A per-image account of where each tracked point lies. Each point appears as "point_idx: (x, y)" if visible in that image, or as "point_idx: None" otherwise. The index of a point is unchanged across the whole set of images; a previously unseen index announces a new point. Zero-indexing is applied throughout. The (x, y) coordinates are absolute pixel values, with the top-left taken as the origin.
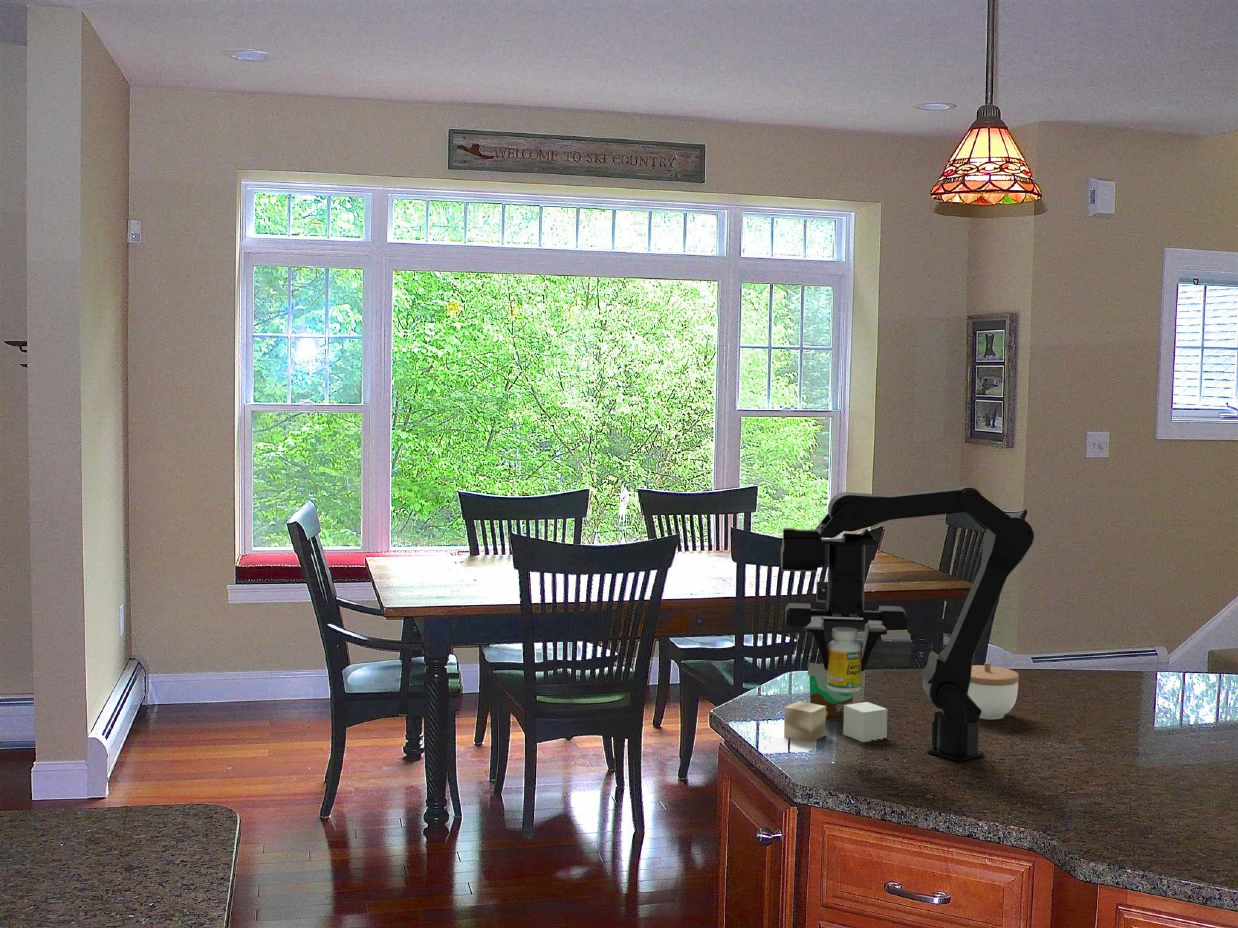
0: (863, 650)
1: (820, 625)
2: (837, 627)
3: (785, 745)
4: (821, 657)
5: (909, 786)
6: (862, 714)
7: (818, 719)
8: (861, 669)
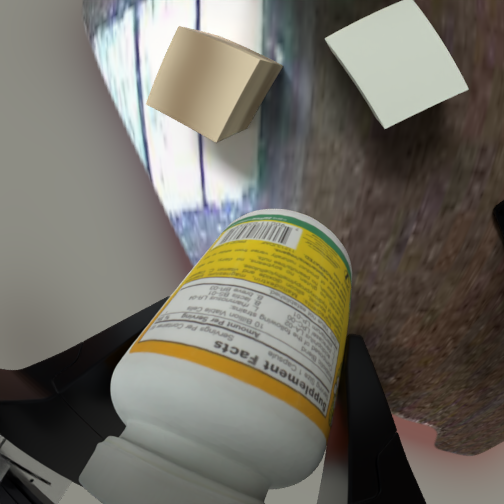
0: (333, 452)
1: (64, 486)
2: (93, 493)
3: (195, 162)
4: None
5: (382, 357)
6: (381, 123)
7: (247, 101)
8: None
